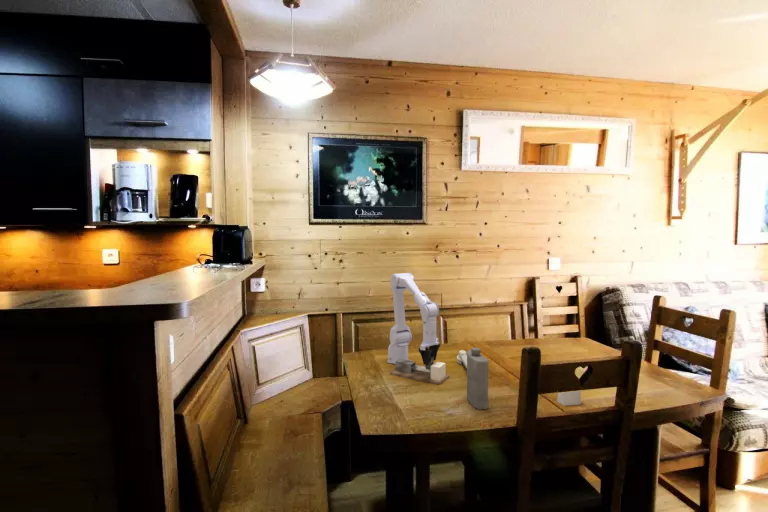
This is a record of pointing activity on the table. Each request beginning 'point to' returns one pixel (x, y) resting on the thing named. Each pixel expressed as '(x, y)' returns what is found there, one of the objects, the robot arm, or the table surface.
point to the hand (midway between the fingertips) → (429, 362)
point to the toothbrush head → (462, 358)
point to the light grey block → (569, 398)
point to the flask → (477, 379)
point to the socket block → (438, 371)
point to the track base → (413, 372)
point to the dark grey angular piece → (424, 367)
